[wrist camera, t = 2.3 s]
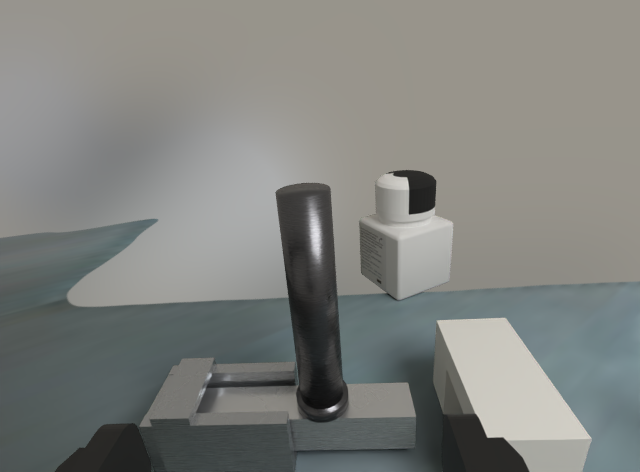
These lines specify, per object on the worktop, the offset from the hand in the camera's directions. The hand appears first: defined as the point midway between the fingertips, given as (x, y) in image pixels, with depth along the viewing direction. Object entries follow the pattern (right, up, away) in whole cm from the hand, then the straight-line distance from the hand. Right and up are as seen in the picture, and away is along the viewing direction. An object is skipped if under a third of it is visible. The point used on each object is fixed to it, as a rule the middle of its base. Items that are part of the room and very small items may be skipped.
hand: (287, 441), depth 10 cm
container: (+11, 0, +36) cm, 38 cm away
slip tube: (-1, -9, +16) cm, 19 cm away
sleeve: (-5, -9, +17) cm, 20 cm away
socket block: (+12, -8, +16) cm, 21 cm away
